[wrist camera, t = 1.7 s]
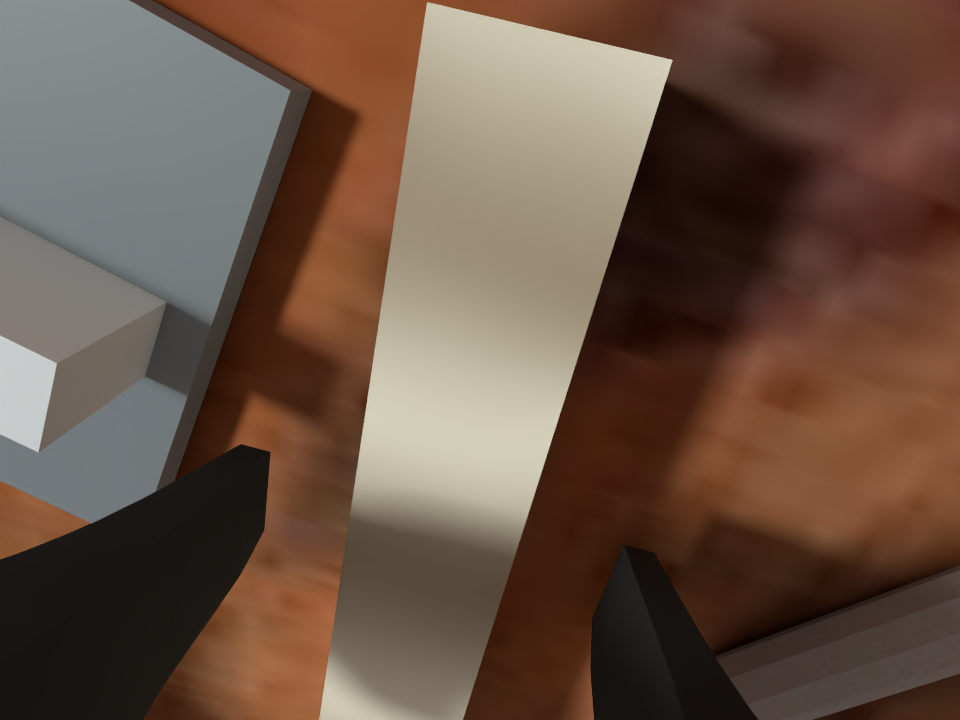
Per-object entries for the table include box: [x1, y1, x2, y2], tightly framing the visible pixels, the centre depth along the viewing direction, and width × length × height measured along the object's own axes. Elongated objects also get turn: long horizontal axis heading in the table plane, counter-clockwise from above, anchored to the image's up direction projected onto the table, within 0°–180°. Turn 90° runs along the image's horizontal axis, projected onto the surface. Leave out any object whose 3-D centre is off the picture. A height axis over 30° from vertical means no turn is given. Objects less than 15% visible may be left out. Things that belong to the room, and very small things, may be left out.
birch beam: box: [319, 2, 672, 720], centre depth 13 cm, size 18×3×4 cm, turn 168°
